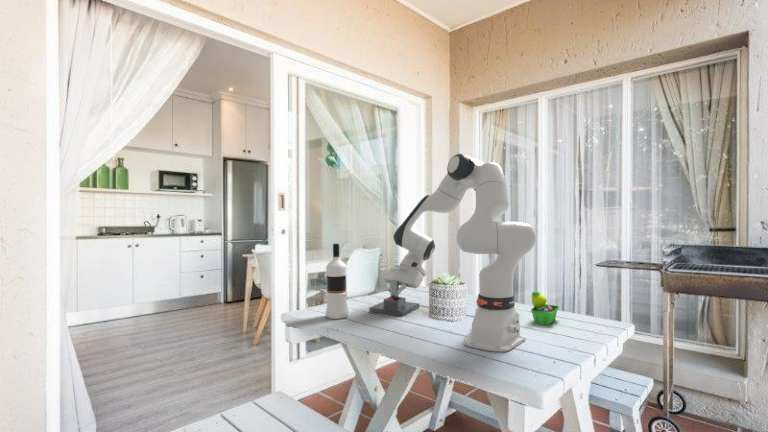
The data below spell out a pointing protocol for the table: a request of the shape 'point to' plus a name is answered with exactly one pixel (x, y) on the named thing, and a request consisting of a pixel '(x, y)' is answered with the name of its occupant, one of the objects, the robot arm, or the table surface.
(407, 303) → the stand base
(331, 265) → the vodka
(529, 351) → the table surface
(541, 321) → the fruit basket
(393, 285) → the column
